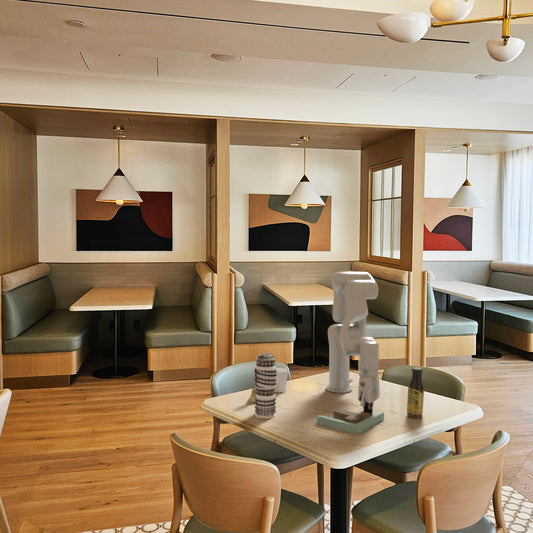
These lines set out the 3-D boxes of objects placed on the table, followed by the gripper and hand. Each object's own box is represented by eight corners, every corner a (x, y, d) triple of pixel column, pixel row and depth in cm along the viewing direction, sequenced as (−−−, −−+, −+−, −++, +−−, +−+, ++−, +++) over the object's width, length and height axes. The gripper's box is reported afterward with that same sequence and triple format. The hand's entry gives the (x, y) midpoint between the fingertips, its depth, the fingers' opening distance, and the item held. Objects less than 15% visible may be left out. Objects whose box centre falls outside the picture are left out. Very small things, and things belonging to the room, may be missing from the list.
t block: (345, 416, 213) (345, 406, 213) (370, 423, 205) (370, 413, 205) (327, 423, 205) (327, 413, 205) (352, 431, 197) (353, 420, 196)
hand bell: (263, 397, 239) (263, 362, 238) (268, 402, 231) (268, 366, 230) (245, 398, 237) (246, 363, 236) (250, 404, 229) (250, 367, 228)
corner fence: (344, 410, 221) (344, 403, 221) (383, 419, 210) (384, 412, 210) (316, 423, 204) (316, 416, 204) (358, 434, 193) (358, 426, 193)
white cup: (287, 393, 246) (287, 372, 245) (270, 393, 246) (270, 371, 246) (287, 388, 254) (287, 368, 253) (270, 388, 254) (271, 367, 253)
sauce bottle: (403, 415, 215) (404, 367, 214) (413, 412, 219) (414, 365, 218) (417, 419, 210) (418, 370, 209) (426, 416, 214) (427, 368, 213)
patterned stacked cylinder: (253, 418, 210) (254, 356, 208) (254, 411, 219) (254, 351, 218) (276, 418, 210) (277, 356, 209) (276, 411, 219) (276, 352, 218)
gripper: (368, 377, 199) (367, 424, 200) (385, 370, 211) (384, 414, 212) (351, 374, 204) (350, 420, 205) (368, 367, 216) (368, 411, 217)
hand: (367, 417), depth 209 cm, fingers closed
